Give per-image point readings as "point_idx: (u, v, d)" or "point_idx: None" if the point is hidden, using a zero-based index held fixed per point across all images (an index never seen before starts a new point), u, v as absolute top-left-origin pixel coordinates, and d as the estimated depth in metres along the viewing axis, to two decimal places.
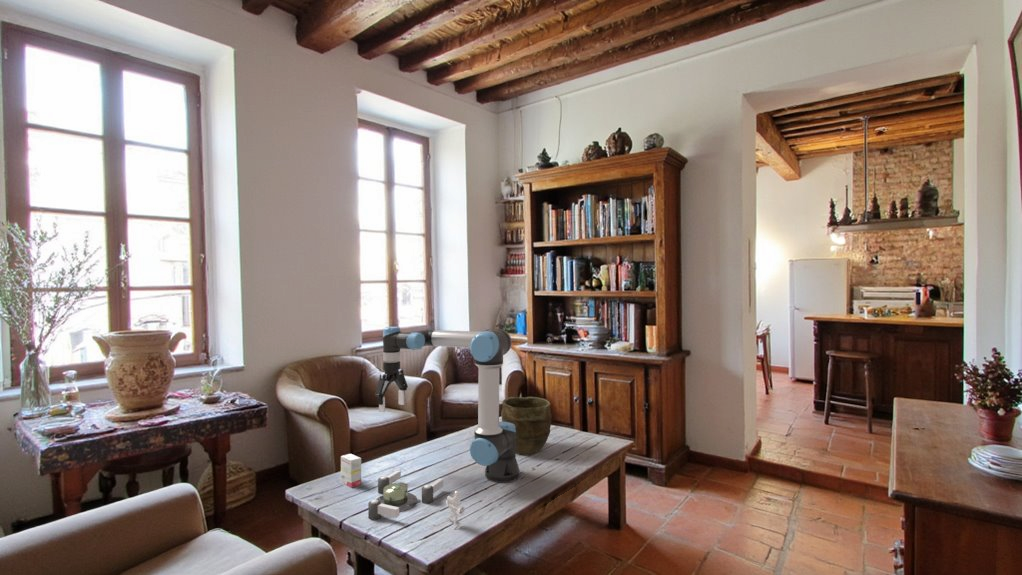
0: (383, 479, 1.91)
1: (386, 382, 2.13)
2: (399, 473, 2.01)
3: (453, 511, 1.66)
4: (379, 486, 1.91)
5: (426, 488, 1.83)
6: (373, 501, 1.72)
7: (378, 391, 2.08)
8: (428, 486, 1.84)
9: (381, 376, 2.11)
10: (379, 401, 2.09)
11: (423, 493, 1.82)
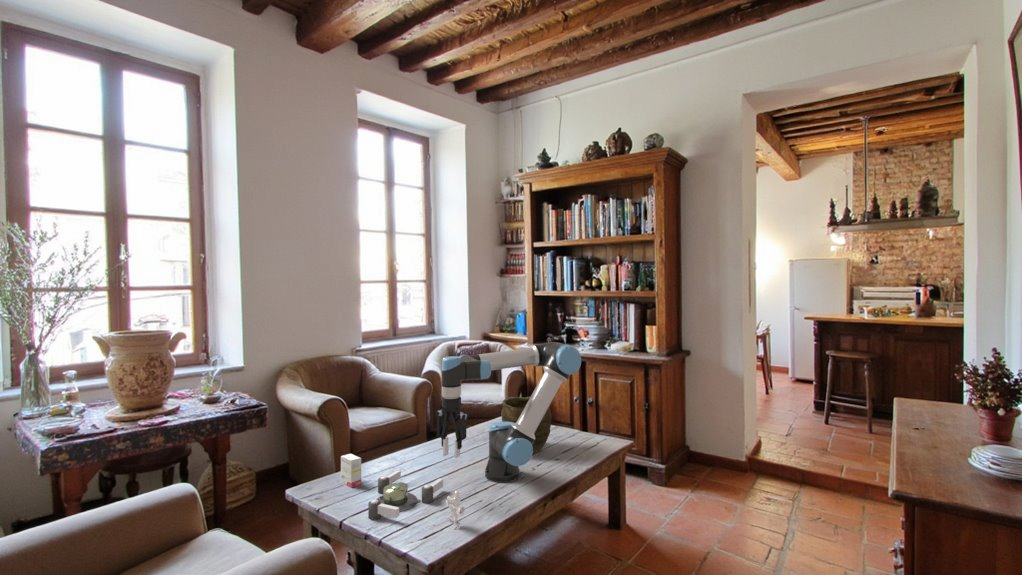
0: (383, 479, 1.91)
1: None
2: (399, 473, 2.01)
3: (453, 511, 1.66)
4: (379, 486, 1.91)
5: (426, 488, 1.83)
6: (373, 501, 1.72)
7: None
8: (428, 486, 1.84)
9: None
10: None
11: (423, 493, 1.82)
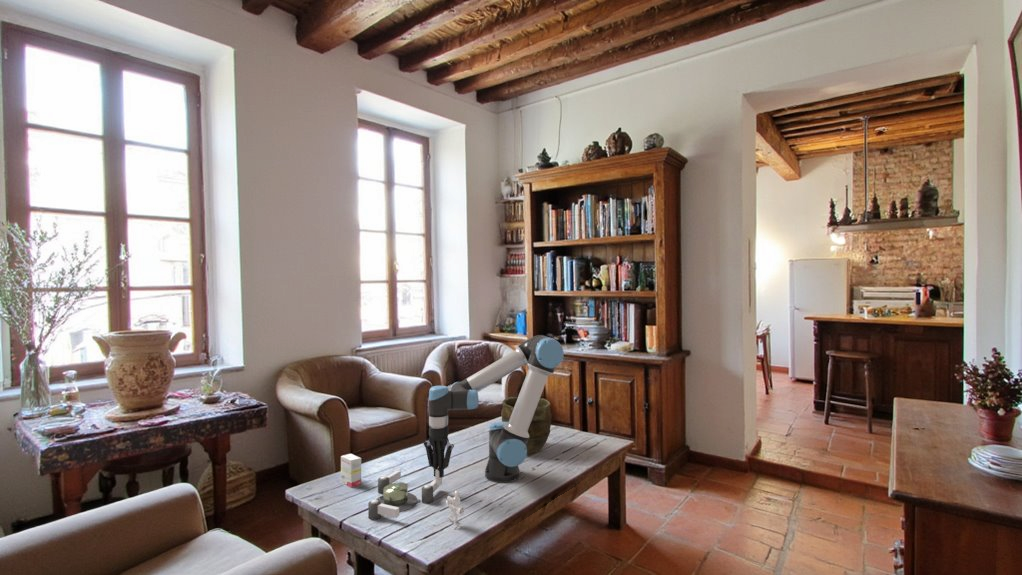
0: (383, 479, 1.91)
1: None
2: (399, 473, 2.01)
3: (453, 511, 1.66)
4: (379, 486, 1.91)
5: (426, 488, 1.83)
6: (373, 501, 1.72)
7: None
8: (428, 486, 1.84)
9: None
10: None
11: (424, 493, 1.82)
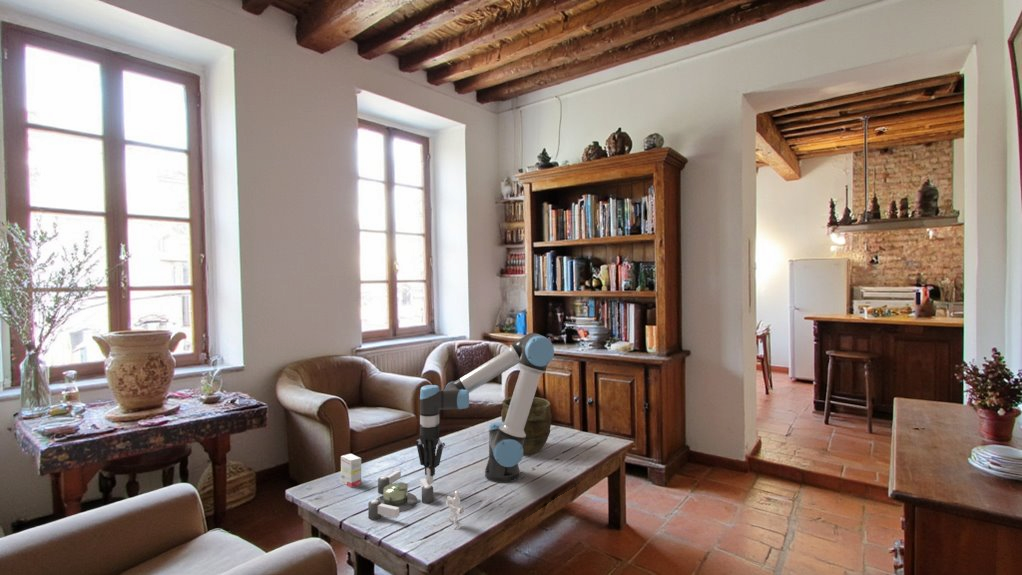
0: (383, 479, 1.91)
1: None
2: (399, 473, 2.01)
3: (453, 511, 1.66)
4: (379, 486, 1.91)
5: (428, 488, 1.83)
6: (373, 501, 1.72)
7: None
8: (428, 486, 1.84)
9: None
10: None
11: (427, 493, 1.82)
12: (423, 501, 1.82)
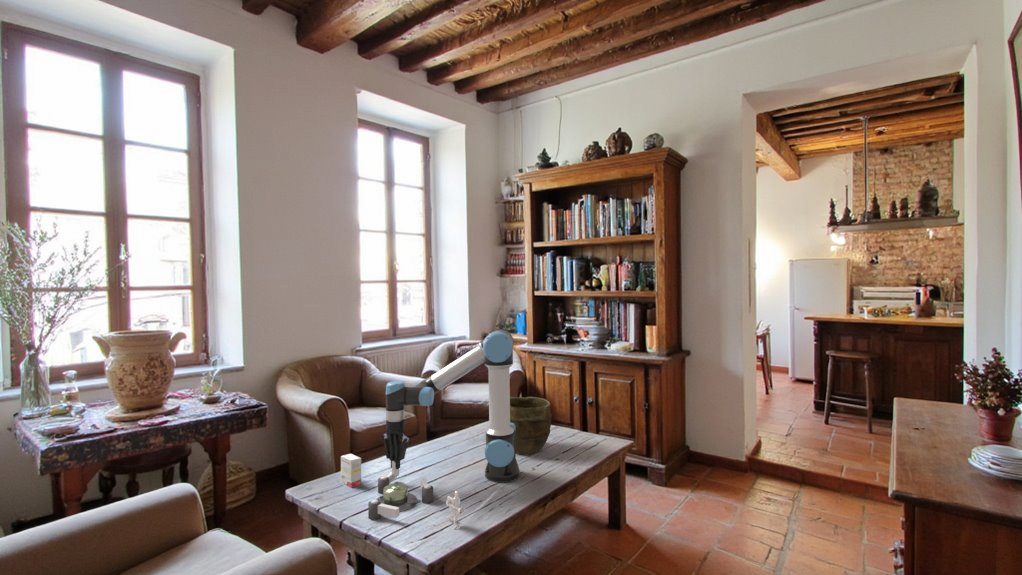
0: (384, 479, 1.91)
1: None
2: None
3: (453, 511, 1.66)
4: (380, 486, 1.91)
5: (428, 488, 1.83)
6: (373, 501, 1.72)
7: None
8: (428, 486, 1.84)
9: None
10: None
11: (427, 493, 1.82)
12: (423, 501, 1.82)
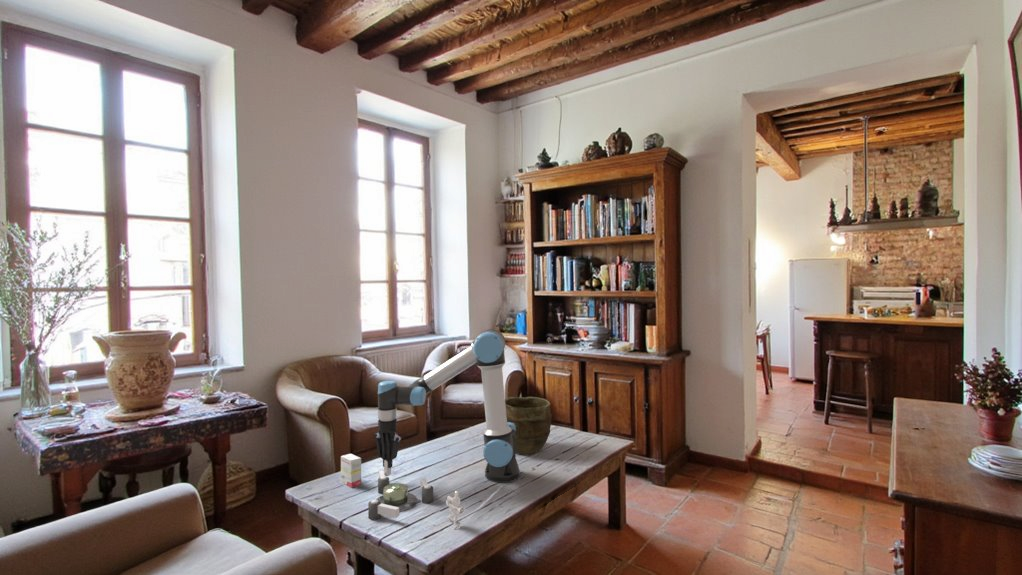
0: (385, 478, 1.92)
1: None
2: None
3: (453, 511, 1.66)
4: (383, 486, 1.90)
5: (428, 488, 1.83)
6: (373, 501, 1.72)
7: None
8: (428, 486, 1.84)
9: None
10: None
11: (427, 493, 1.82)
12: (423, 501, 1.82)
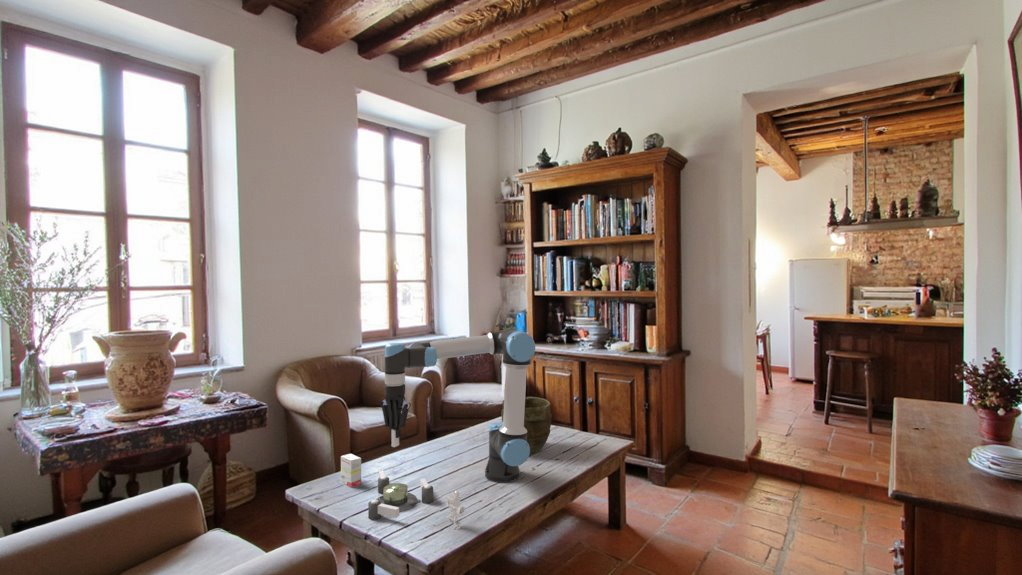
0: (385, 478, 1.92)
1: None
2: None
3: (453, 511, 1.66)
4: (383, 486, 1.90)
5: (428, 488, 1.83)
6: (373, 501, 1.72)
7: None
8: (428, 486, 1.84)
9: None
10: None
11: (427, 493, 1.82)
12: (423, 501, 1.82)
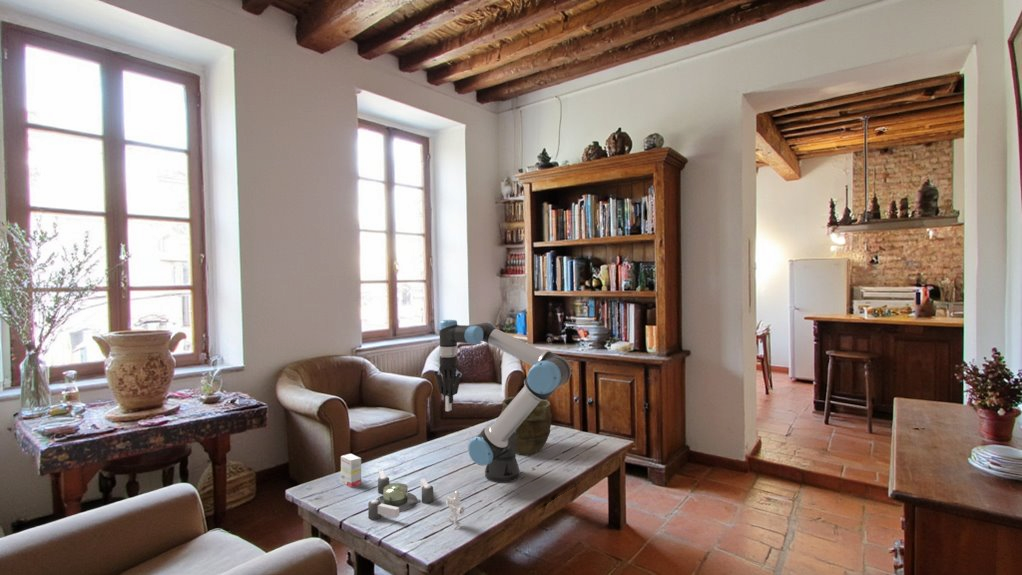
0: (385, 478, 1.92)
1: None
2: None
3: (453, 511, 1.66)
4: (383, 486, 1.90)
5: (428, 488, 1.83)
6: (373, 501, 1.72)
7: None
8: (428, 486, 1.84)
9: None
10: None
11: (427, 493, 1.82)
12: (423, 501, 1.82)
